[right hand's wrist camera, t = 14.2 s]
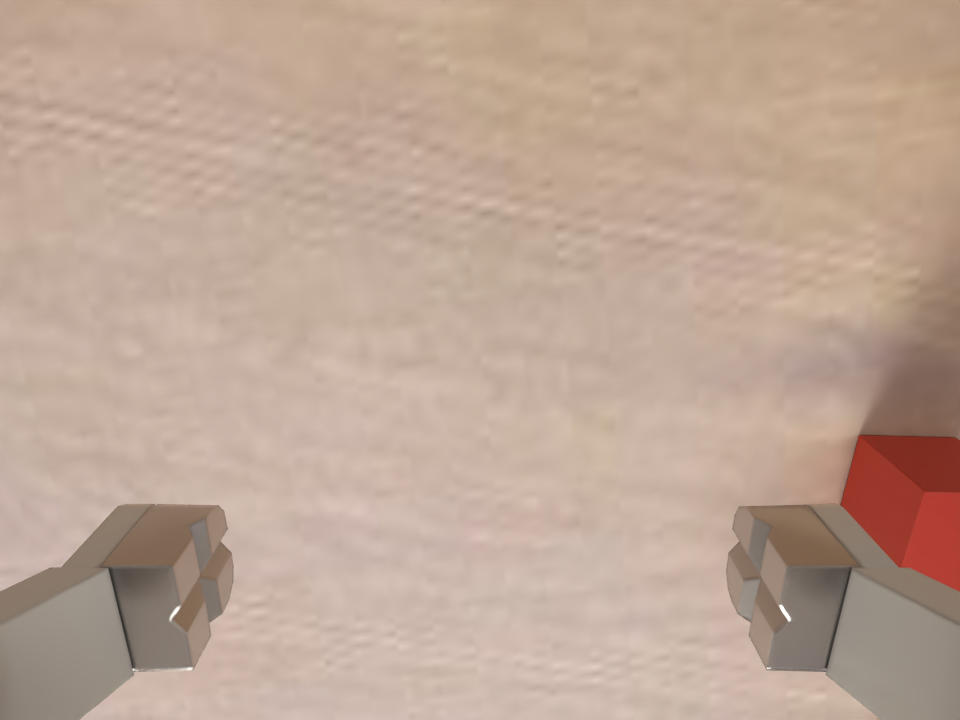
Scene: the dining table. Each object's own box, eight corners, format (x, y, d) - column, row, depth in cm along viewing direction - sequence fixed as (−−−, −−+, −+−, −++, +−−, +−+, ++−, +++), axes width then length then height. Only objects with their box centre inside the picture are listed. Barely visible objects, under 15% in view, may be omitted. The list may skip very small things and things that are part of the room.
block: (925, 529, 30) (998, 597, 26) (834, 527, 30) (892, 595, 26) (955, 436, 29) (1038, 494, 24) (858, 434, 28) (925, 491, 24)
